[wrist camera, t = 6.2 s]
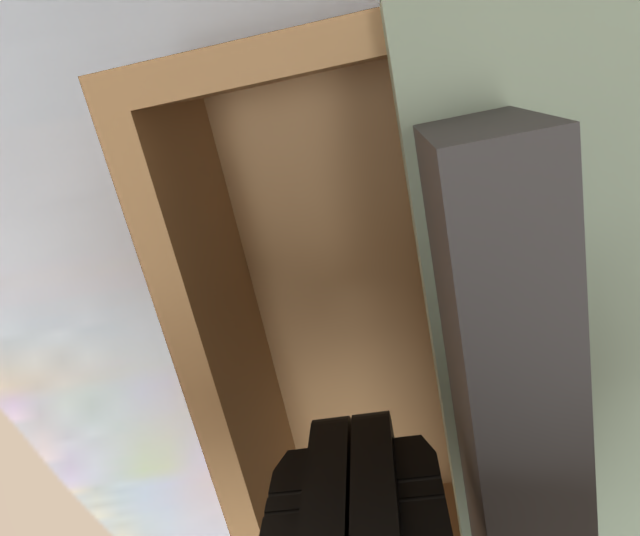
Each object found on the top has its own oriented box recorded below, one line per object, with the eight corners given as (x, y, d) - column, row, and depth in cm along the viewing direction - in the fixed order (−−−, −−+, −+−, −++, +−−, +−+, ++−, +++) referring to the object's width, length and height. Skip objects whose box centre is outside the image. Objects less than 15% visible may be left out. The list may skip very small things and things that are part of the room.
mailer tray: (177, 75, 16) (78, 77, 10) (945, -99, 13) (1378, -226, 8) (294, 501, 21) (271, 658, 15) (864, 437, 18) (1087, 599, 13)
